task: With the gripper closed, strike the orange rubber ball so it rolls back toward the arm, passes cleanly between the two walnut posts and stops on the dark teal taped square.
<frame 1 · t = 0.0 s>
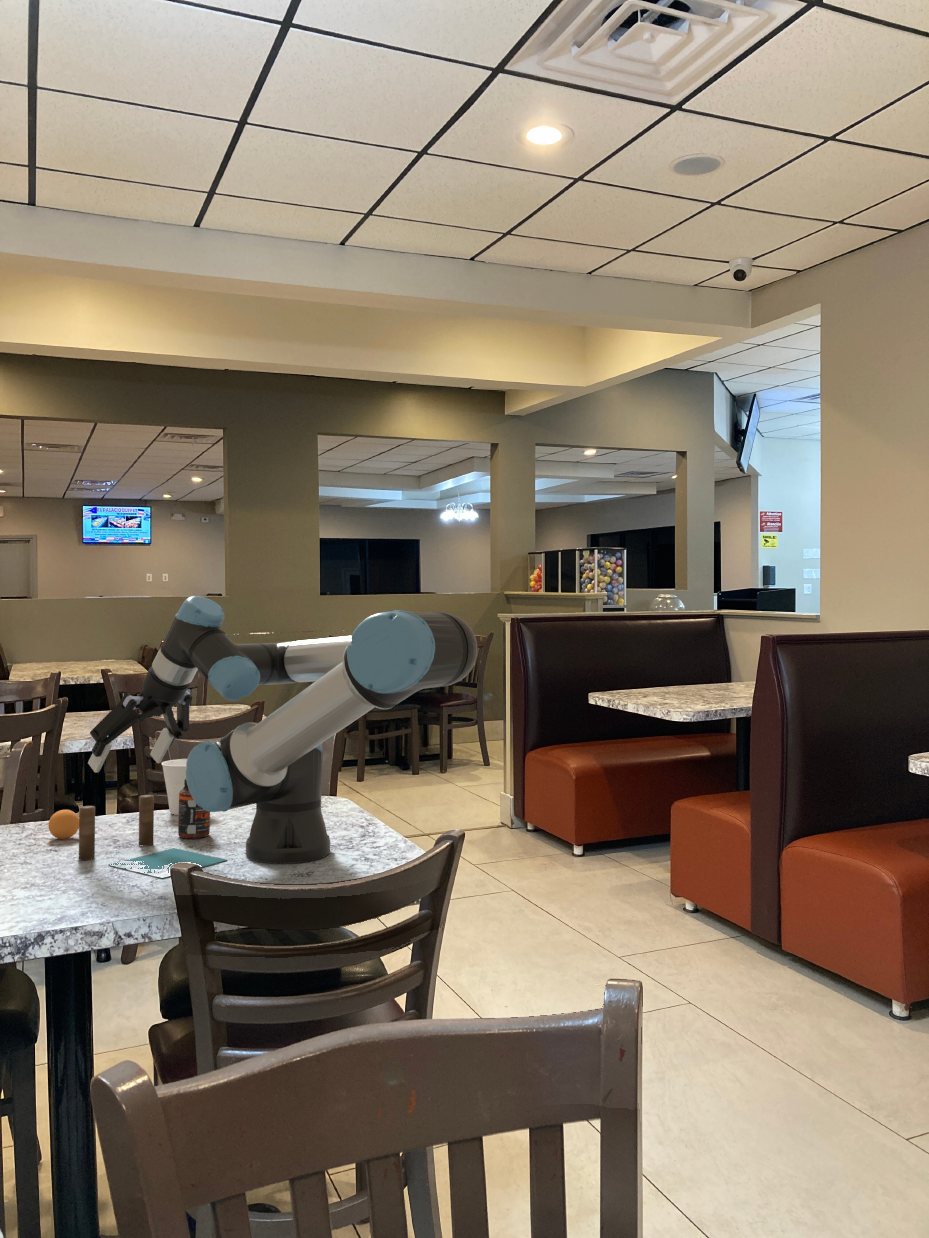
hand: (125, 762, 175), 15 cm above the table, tool tilted 35°, fingers open, 13 cm apart
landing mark: (168, 863, 163), on the table
post right: (146, 844, 176), on the table
cup: (184, 813, 203), on the table
supplement bottle: (194, 837, 183), on the table
ball: (64, 824, 179), on the table
post left: (86, 858, 165), on the table
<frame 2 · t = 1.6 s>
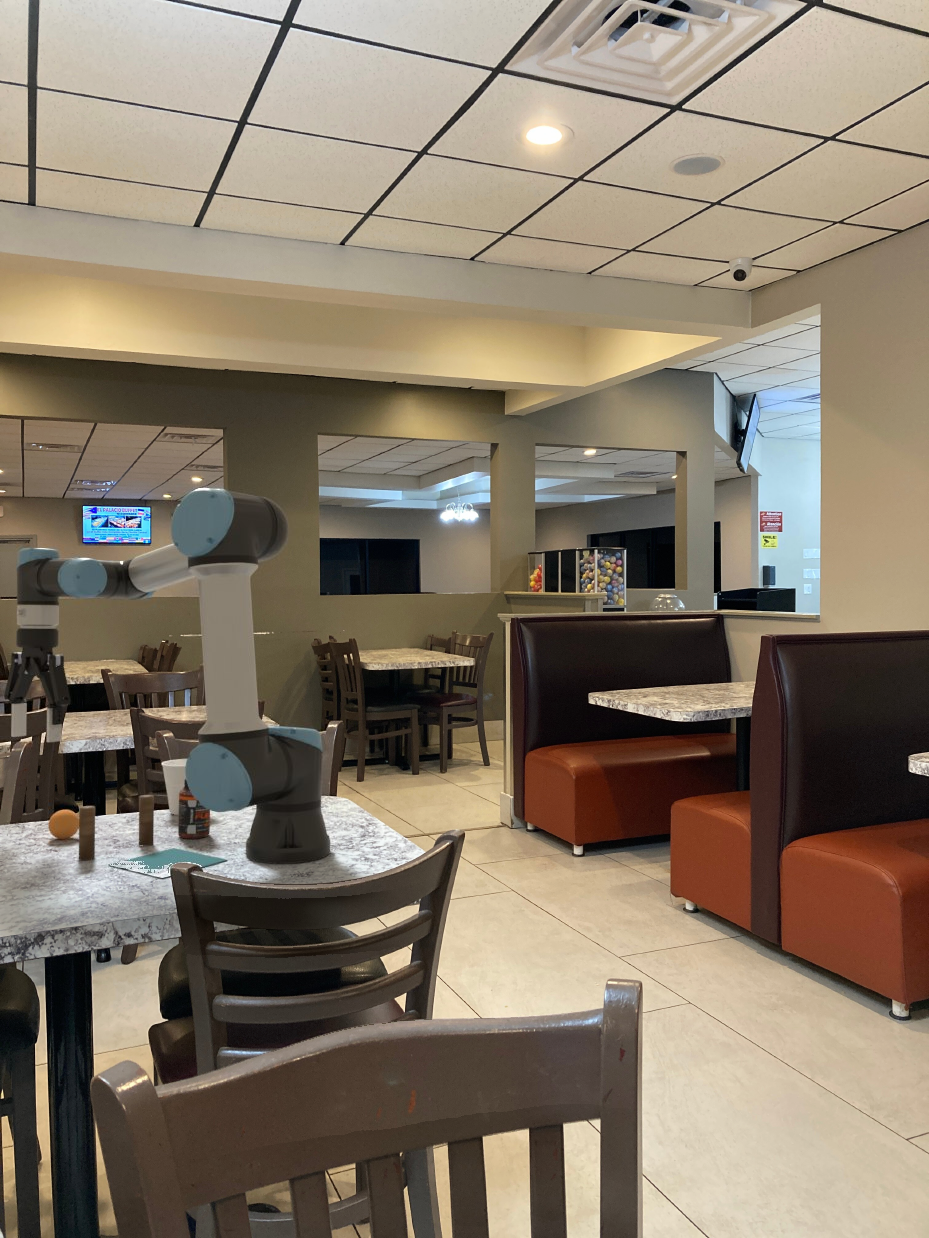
hand: (36, 738, 184), 18 cm above the table, tool pointing down, fingers open, 11 cm apart
nothing on the table moved.
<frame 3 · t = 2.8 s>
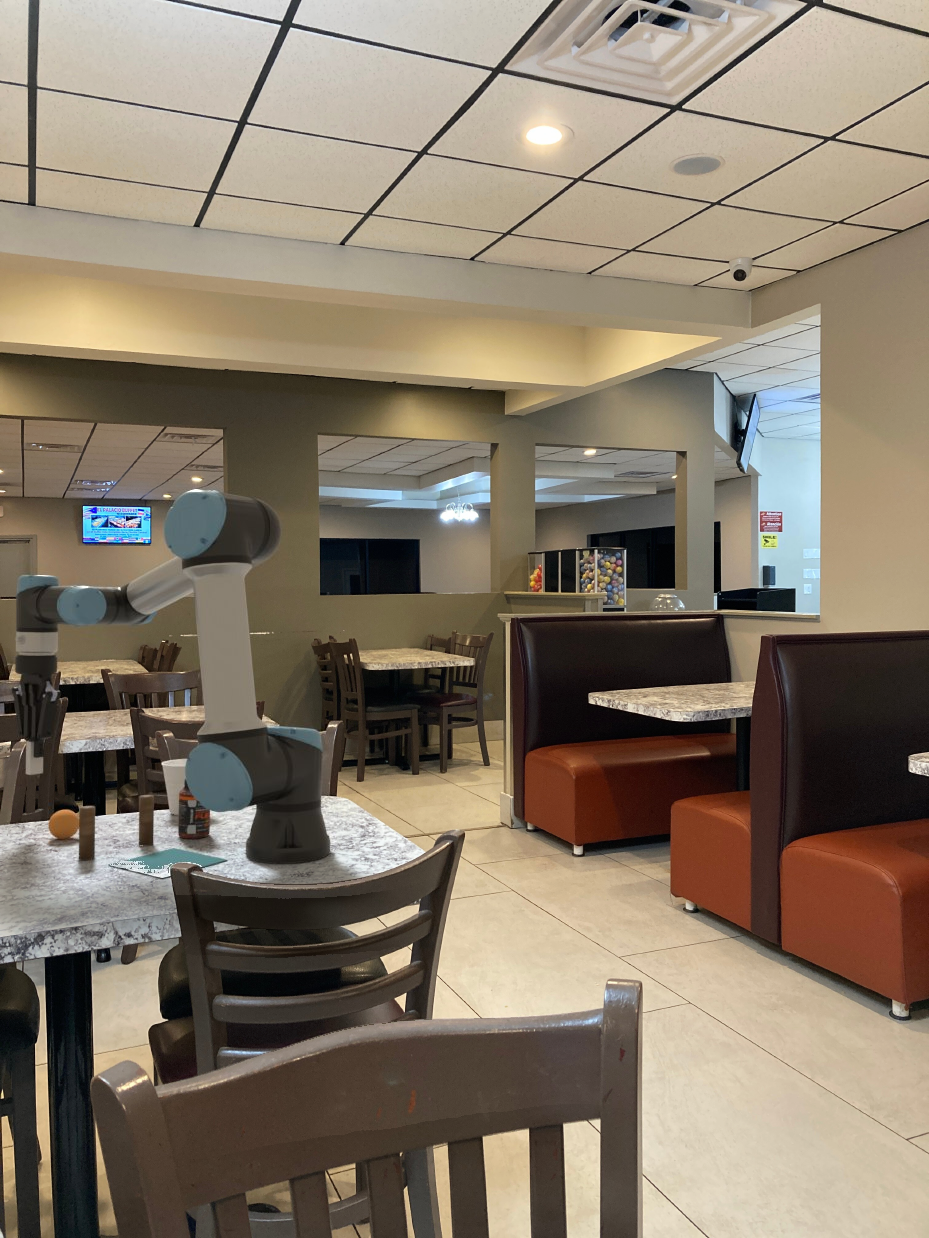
hand: (34, 773, 184), 11 cm above the table, tool pointing down, fingers closed
nothing on the table moved.
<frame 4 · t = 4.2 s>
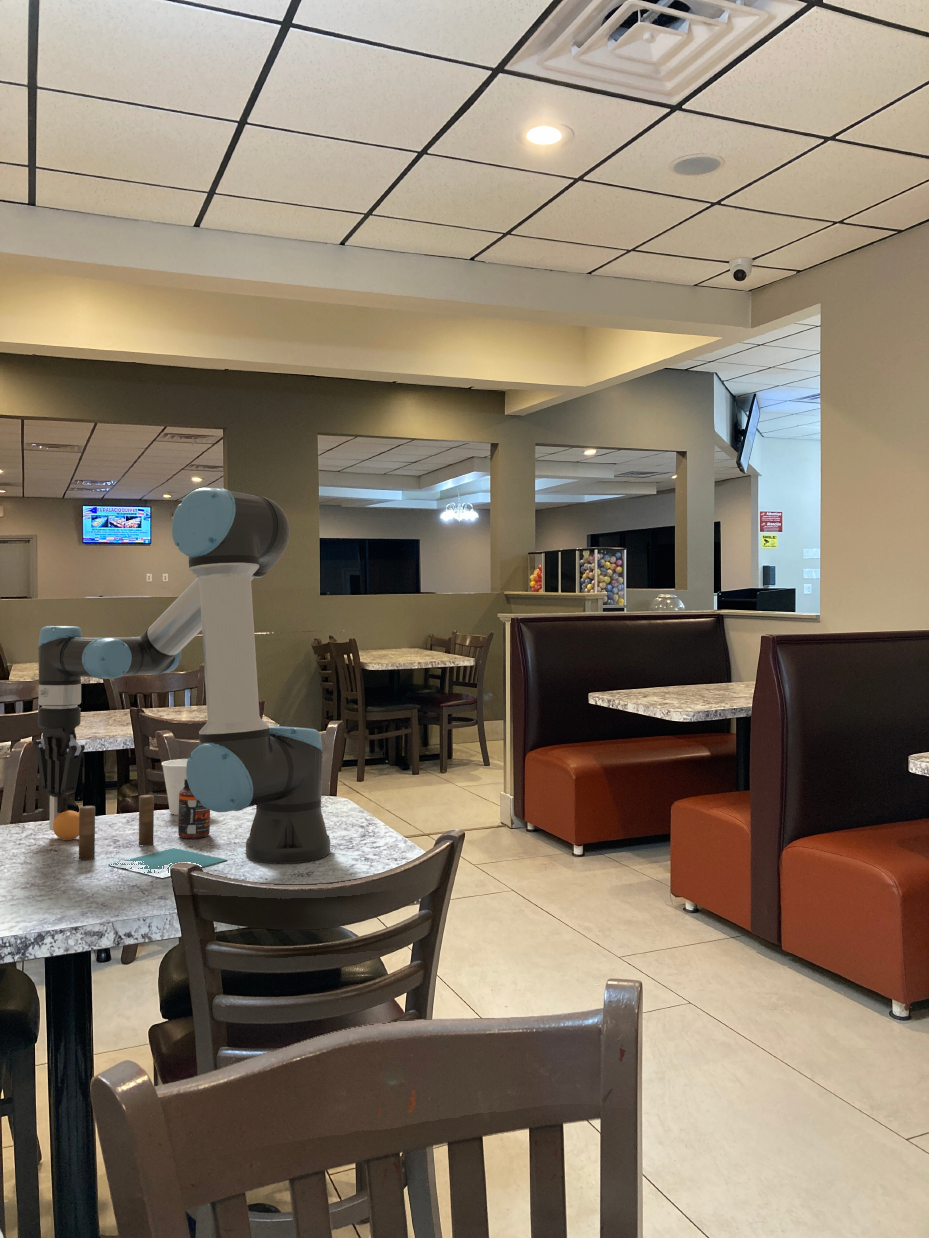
hand: (58, 828, 180), 2 cm above the table, tool pointing down, fingers closed
ball: (68, 825, 178), on the table, touching gripper
everything else where it was.
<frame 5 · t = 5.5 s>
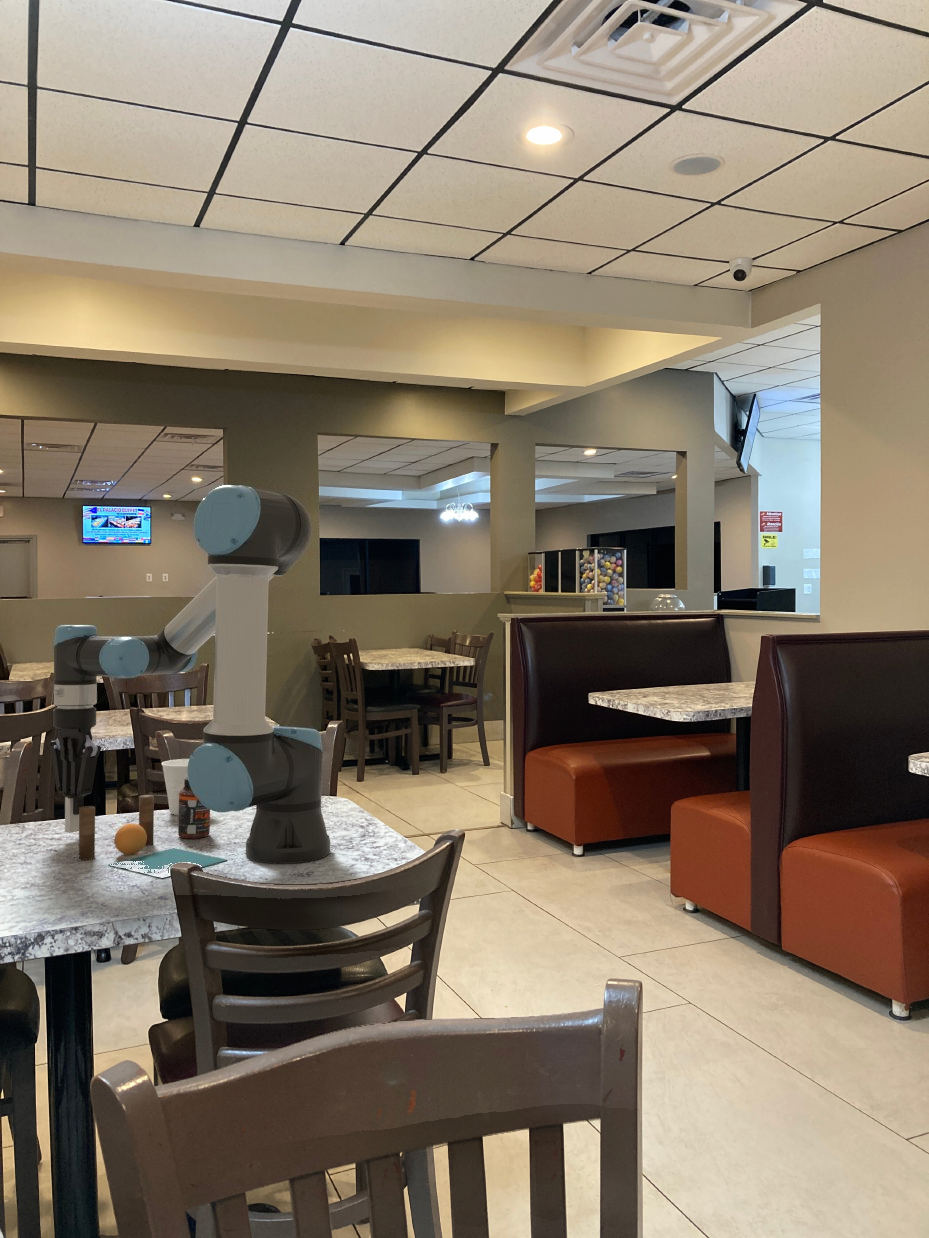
hand: (73, 830, 177), 2 cm above the table, tool pointing down, fingers closed
ball: (130, 839, 168), on the table
everything else where it was.
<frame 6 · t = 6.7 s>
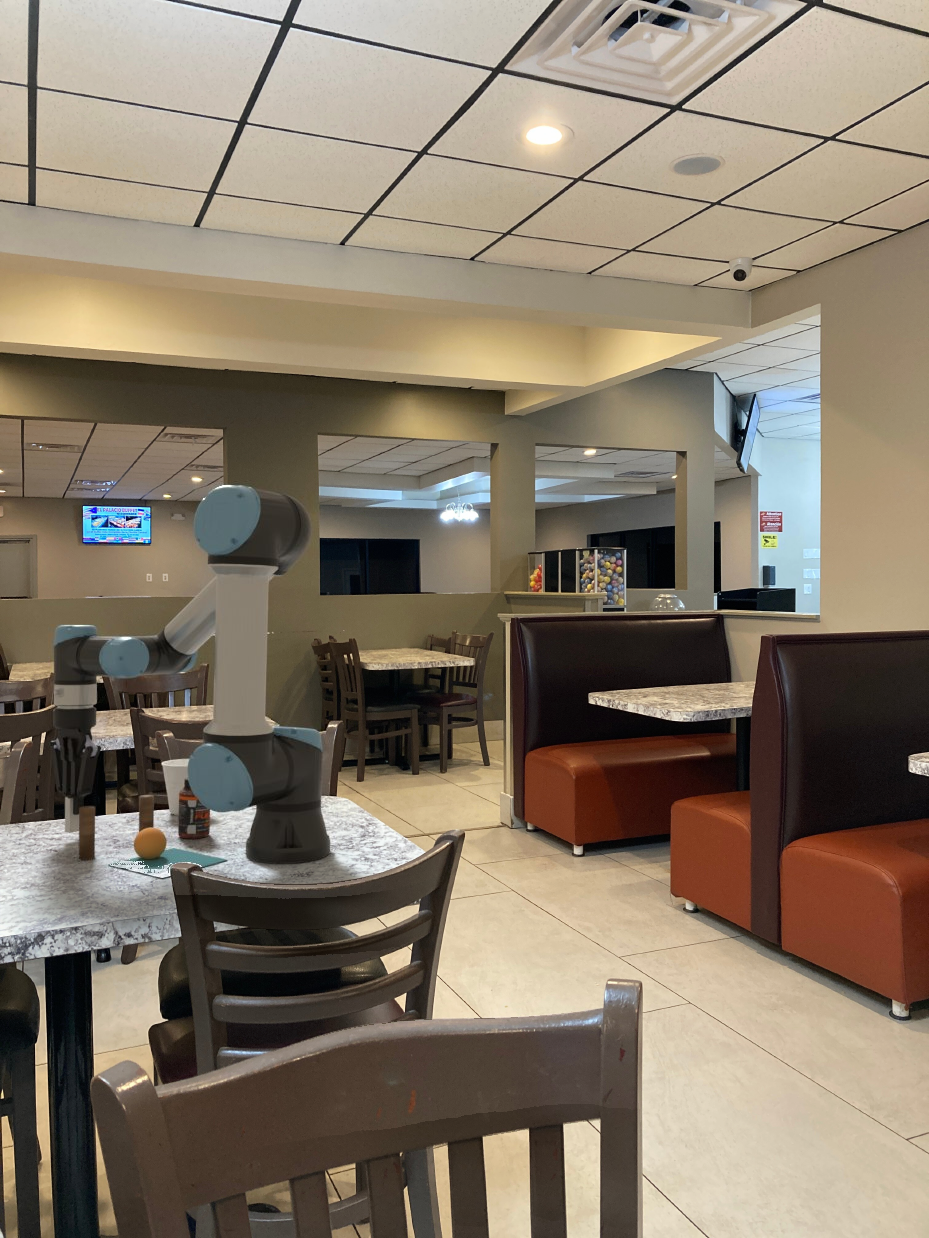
hand: (73, 830, 177), 2 cm above the table, tool pointing down, fingers closed
ball: (150, 843, 165), on the table
everything else where it was.
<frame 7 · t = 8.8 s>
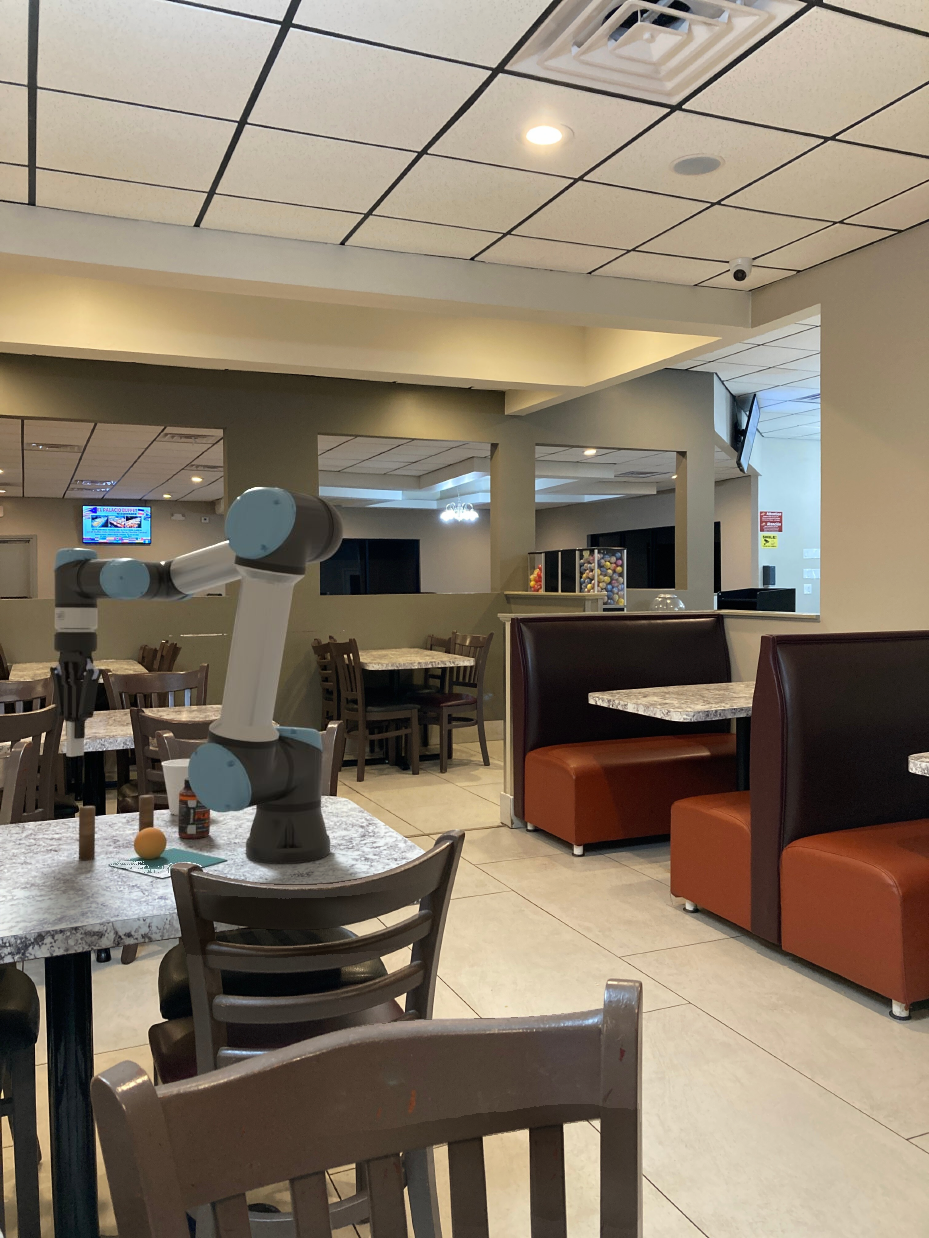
hand: (75, 755, 177), 16 cm above the table, tool pointing down, fingers closed
nothing on the table moved.
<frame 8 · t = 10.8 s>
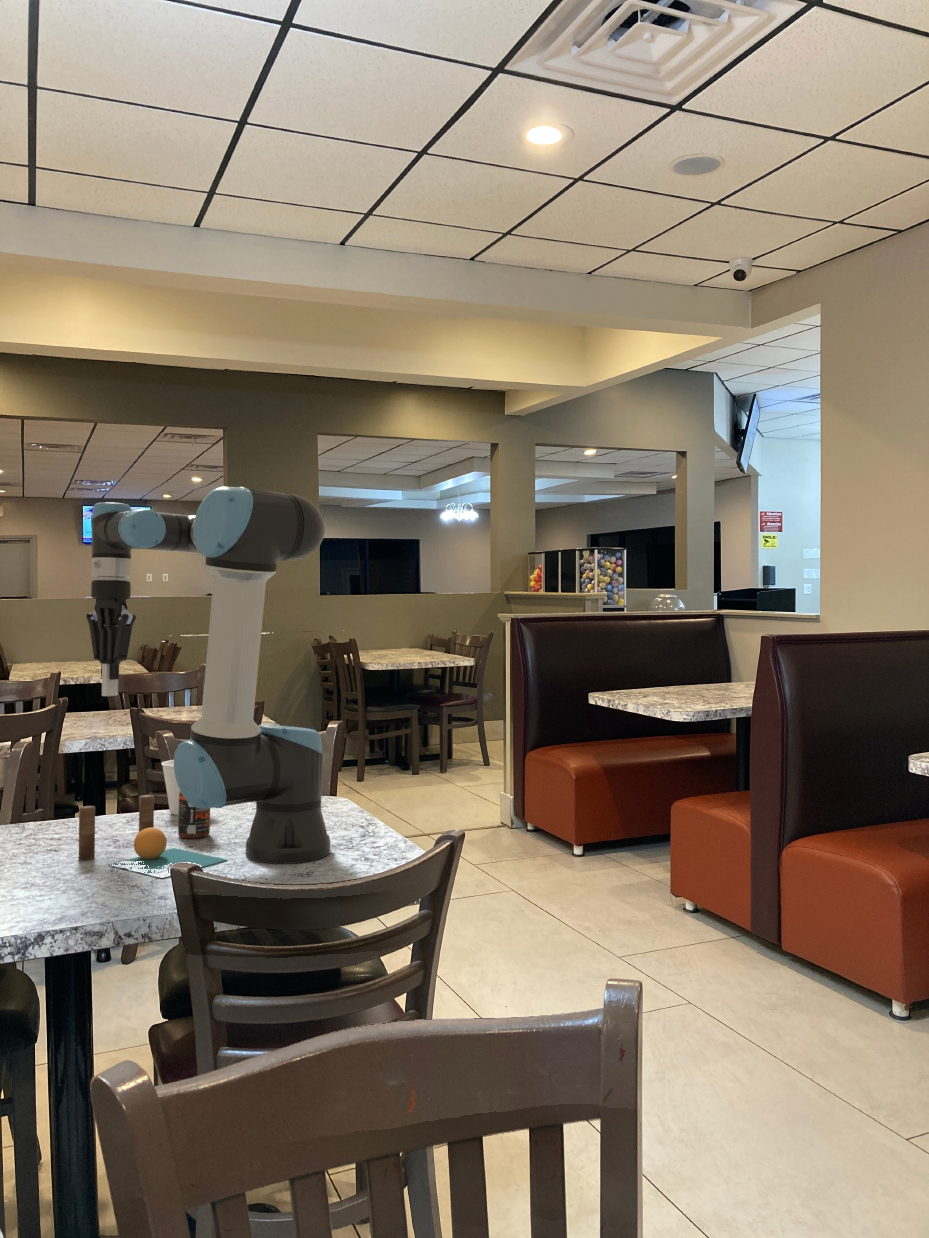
hand: (109, 695, 191), 26 cm above the table, tool pointing down, fingers closed
nothing on the table moved.
at the end: ball 4.8 cm from the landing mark (horizontally); ball never touched post left; ball never touched post right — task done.
